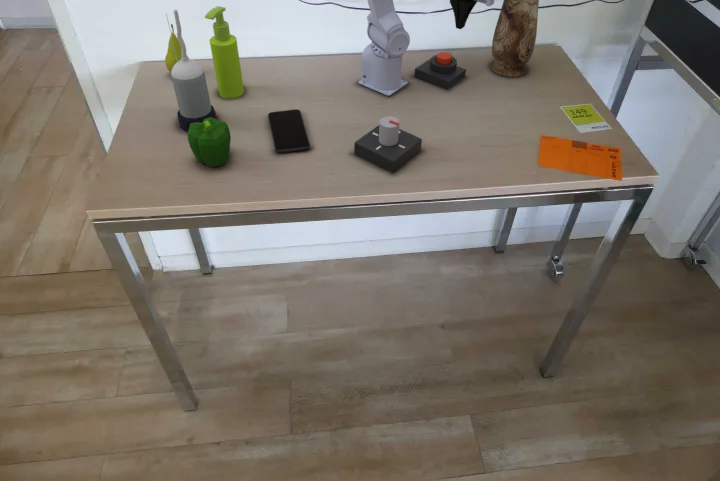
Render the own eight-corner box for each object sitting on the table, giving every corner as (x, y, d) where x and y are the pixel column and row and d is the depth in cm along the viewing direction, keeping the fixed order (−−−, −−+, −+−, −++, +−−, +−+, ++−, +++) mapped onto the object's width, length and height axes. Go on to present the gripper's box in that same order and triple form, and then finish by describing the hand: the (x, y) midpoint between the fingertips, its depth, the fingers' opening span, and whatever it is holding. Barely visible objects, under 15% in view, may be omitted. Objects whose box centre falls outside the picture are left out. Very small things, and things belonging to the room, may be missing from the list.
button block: (414, 76, 141) (415, 61, 138) (432, 64, 145) (433, 49, 143) (448, 89, 136) (450, 74, 134) (465, 76, 141) (468, 62, 138)
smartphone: (311, 150, 118) (300, 111, 128) (310, 146, 117) (300, 108, 128) (275, 154, 117) (267, 115, 127) (275, 151, 116) (267, 111, 126)
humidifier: (223, 126, 124) (202, 13, 106) (187, 136, 121) (159, 23, 103) (209, 108, 129) (187, -2, 111) (174, 118, 126) (146, 7, 108)
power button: (433, 62, 139) (434, 55, 137) (441, 57, 141) (442, 50, 139) (445, 67, 137) (446, 60, 136) (453, 61, 139) (454, 55, 138)
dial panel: (354, 154, 117) (354, 141, 115) (383, 133, 123) (383, 121, 121) (392, 173, 113) (393, 160, 111) (420, 150, 119) (422, 138, 116)
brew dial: (375, 142, 115) (376, 122, 112) (385, 132, 118) (386, 112, 114) (391, 148, 114) (393, 128, 110) (401, 138, 116) (403, 118, 113)
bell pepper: (195, 148, 118) (186, 106, 111) (235, 147, 118) (228, 105, 111) (190, 173, 112) (179, 130, 105) (231, 171, 112) (224, 129, 105)
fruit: (173, 82, 137) (161, 35, 128) (165, 72, 140) (153, 25, 132) (195, 76, 139) (186, 29, 130) (187, 66, 142) (177, 20, 134)
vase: (532, 79, 141) (564, -49, 120) (489, 78, 141) (514, -50, 120) (523, 59, 148) (553, -65, 127) (483, 58, 148) (506, -66, 127)
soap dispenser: (211, 97, 132) (195, 13, 118) (227, 83, 137) (213, 1, 123) (233, 102, 131) (219, 18, 117) (248, 88, 135) (237, 5, 121)
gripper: (505, -29, 127) (494, 30, 137) (450, -43, 133) (443, 13, 143) (490, -20, 123) (479, 40, 133) (434, -35, 129) (428, 22, 139)
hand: (460, 27), depth 137 cm, fingers closed
